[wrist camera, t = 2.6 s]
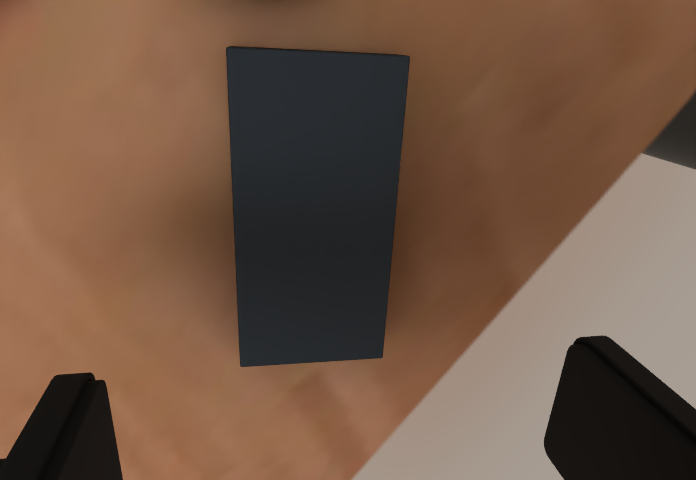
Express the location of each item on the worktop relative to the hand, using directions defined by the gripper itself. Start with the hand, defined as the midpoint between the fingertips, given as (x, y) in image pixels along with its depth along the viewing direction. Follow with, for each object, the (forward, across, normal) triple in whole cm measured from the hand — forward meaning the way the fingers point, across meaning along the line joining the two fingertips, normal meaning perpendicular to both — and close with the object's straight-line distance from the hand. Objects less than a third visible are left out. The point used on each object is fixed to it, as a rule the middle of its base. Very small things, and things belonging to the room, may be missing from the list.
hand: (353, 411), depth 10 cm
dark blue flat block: (+12, -1, 0) cm, 12 cm away
